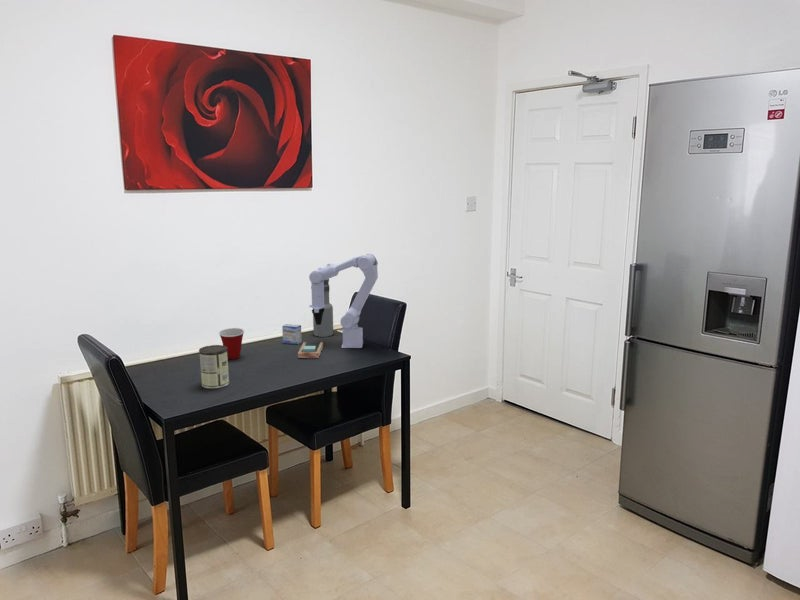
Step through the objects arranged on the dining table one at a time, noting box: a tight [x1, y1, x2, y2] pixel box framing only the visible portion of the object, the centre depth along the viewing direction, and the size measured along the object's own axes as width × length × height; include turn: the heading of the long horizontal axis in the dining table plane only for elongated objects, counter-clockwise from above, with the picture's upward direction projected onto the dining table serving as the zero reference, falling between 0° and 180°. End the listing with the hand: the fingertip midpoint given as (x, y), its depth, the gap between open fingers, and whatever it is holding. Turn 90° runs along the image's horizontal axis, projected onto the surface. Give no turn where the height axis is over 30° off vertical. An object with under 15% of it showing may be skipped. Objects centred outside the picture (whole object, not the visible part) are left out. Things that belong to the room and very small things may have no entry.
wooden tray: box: [297, 341, 324, 360], centre depth 280 cm, size 9×18×2 cm, turn 1°
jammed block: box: [303, 345, 317, 352], centre depth 275 cm, size 5×5×4 cm
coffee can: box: [198, 344, 230, 389], centre depth 237 cm, size 10×10×14 cm
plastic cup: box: [218, 327, 245, 360], centre depth 271 cm, size 11×11×12 cm
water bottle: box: [312, 278, 334, 338], centre depth 308 cm, size 10×10×28 cm
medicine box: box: [281, 323, 303, 345], centre depth 296 cm, size 8×4×9 cm, turn 73°
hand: (318, 324), depth 293 cm, fingers closed
